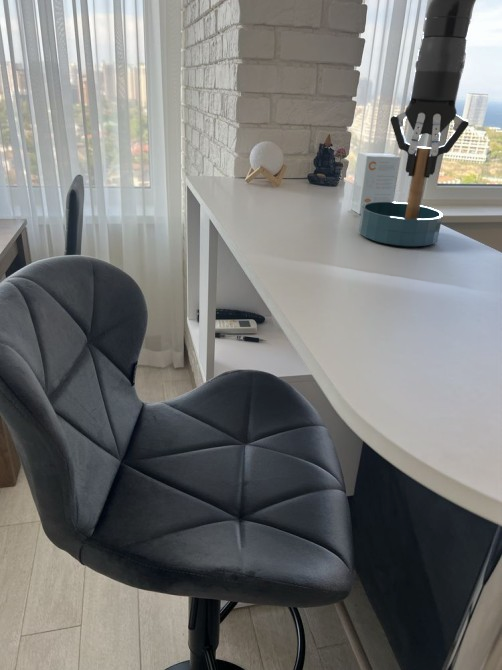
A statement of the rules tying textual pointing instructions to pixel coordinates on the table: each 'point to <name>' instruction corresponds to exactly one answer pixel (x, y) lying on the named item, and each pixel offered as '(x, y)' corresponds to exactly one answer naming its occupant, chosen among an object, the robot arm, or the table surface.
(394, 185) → the small box
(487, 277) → the table surface
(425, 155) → the wooden stick
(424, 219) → the bowl
